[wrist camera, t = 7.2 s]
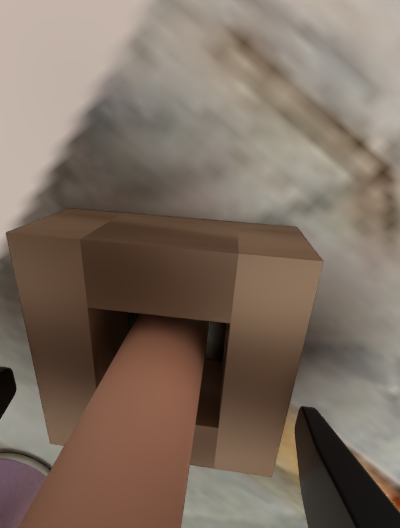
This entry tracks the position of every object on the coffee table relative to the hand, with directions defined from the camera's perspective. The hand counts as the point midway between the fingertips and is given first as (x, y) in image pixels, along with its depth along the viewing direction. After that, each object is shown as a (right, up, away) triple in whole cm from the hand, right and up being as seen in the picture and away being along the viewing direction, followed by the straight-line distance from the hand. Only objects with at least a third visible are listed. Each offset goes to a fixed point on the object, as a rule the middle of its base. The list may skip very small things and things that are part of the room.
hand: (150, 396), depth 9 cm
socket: (0, +2, +4) cm, 4 cm away
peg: (0, +2, +4) cm, 5 cm away
